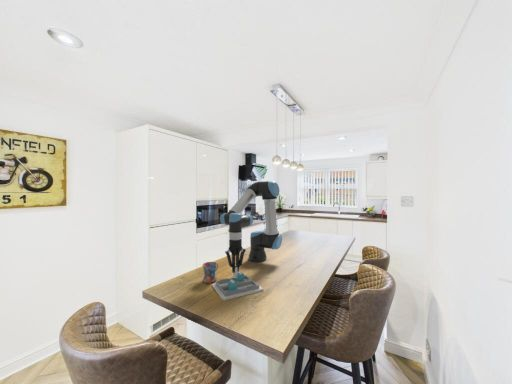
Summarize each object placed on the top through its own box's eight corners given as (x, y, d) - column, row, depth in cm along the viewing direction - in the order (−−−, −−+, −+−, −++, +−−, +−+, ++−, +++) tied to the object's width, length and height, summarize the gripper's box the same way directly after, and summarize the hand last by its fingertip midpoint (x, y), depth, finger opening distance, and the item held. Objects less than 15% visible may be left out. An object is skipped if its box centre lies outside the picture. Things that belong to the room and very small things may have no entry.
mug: (209, 285, 129) (209, 267, 129) (199, 281, 134) (199, 264, 134) (223, 278, 139) (223, 262, 139) (212, 275, 144) (212, 259, 144)
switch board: (247, 277, 140) (247, 273, 140) (263, 290, 122) (263, 284, 122) (212, 285, 128) (212, 280, 128) (223, 300, 111) (223, 294, 111)
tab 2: (241, 279, 134) (241, 270, 134) (244, 282, 130) (243, 273, 130) (235, 281, 132) (235, 272, 132) (237, 283, 128) (237, 274, 128)
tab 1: (234, 288, 122) (234, 278, 122) (237, 291, 118) (237, 281, 118) (227, 290, 120) (227, 280, 120) (230, 293, 116) (230, 282, 116)
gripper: (242, 236, 136) (242, 273, 136) (223, 238, 130) (223, 277, 130) (247, 238, 129) (247, 277, 129) (227, 241, 123) (227, 282, 123)
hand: (235, 277), depth 130 cm, fingers closed
